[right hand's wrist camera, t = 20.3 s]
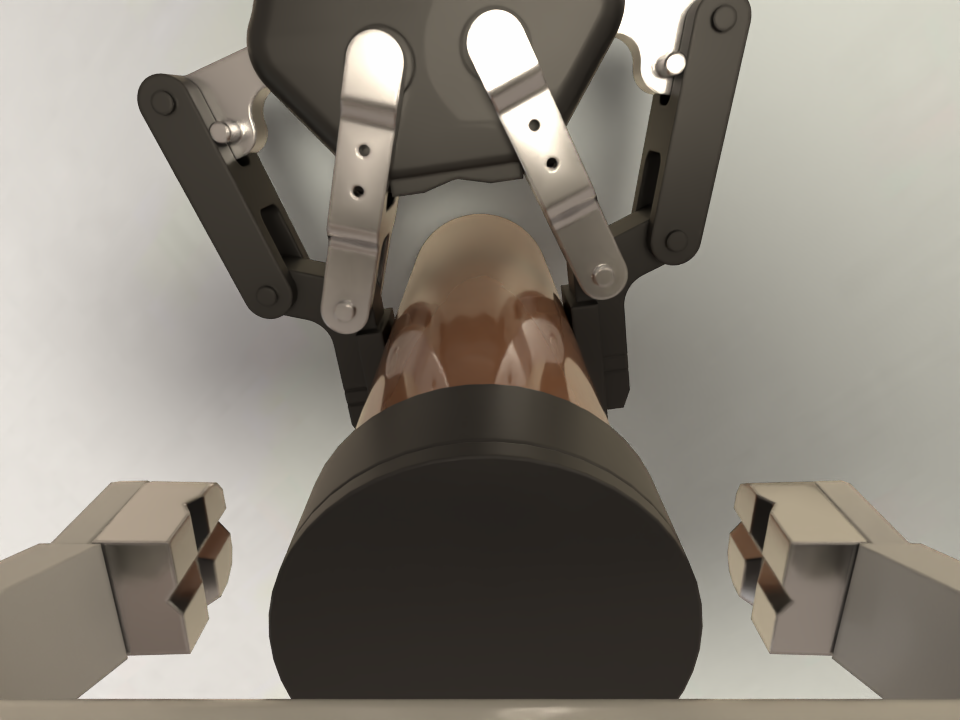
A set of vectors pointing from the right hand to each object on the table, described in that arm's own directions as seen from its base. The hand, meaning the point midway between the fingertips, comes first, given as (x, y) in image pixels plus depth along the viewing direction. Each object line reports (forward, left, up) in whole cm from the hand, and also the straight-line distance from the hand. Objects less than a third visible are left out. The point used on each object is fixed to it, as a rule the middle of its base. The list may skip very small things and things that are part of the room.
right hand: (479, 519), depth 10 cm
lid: (0, 0, +2) cm, 2 cm away
